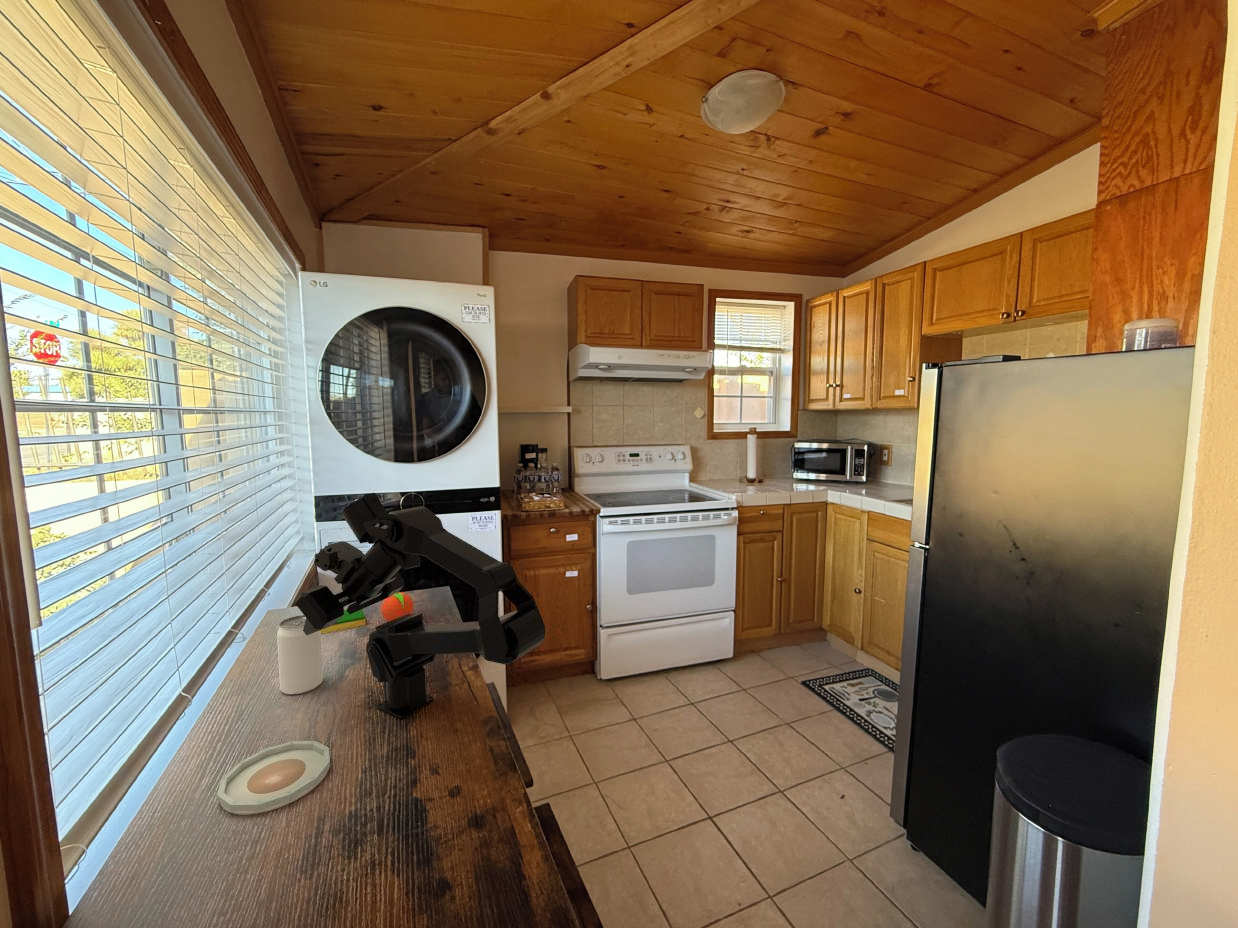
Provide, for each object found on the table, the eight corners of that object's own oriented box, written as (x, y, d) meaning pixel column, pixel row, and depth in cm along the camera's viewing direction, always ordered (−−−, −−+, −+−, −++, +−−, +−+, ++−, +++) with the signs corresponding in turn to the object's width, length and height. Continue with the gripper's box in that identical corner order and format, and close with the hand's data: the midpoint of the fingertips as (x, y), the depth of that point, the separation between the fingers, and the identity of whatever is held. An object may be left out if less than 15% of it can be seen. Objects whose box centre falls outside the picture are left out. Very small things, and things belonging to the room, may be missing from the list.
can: (331, 677, 93) (328, 614, 92) (306, 696, 86) (302, 629, 85) (298, 675, 94) (294, 612, 92) (271, 694, 87) (266, 627, 86)
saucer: (348, 766, 69) (348, 757, 69) (250, 829, 59) (250, 818, 59) (298, 739, 75) (297, 731, 75) (200, 792, 64) (200, 782, 64)
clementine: (420, 623, 117) (419, 594, 117) (388, 632, 113) (387, 601, 112) (408, 613, 123) (407, 585, 123) (377, 621, 119) (376, 591, 118)
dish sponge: (293, 629, 115) (293, 619, 115) (361, 616, 123) (361, 606, 122) (294, 641, 109) (293, 630, 109) (365, 626, 117) (365, 616, 117)
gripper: (388, 517, 94) (341, 571, 98) (301, 541, 76) (248, 606, 80) (426, 562, 93) (377, 615, 96) (347, 597, 75) (291, 660, 78)
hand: (328, 621), depth 88 cm, fingers open, 9 cm apart
